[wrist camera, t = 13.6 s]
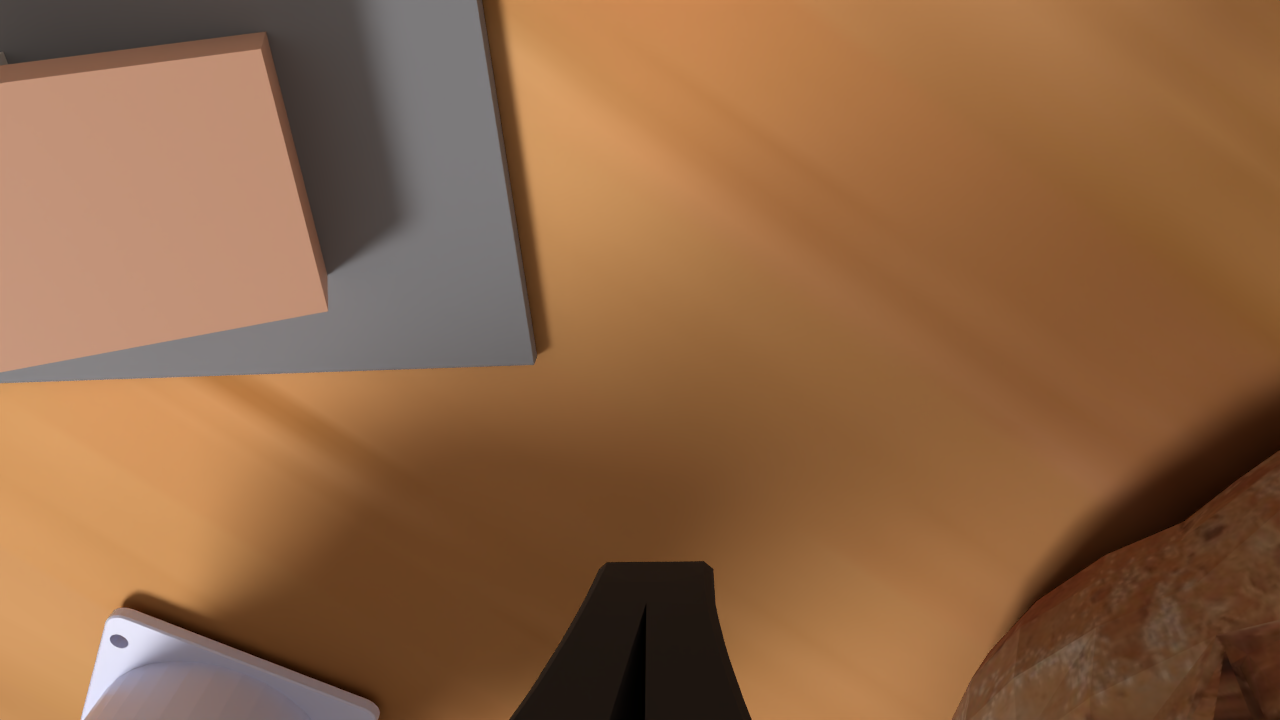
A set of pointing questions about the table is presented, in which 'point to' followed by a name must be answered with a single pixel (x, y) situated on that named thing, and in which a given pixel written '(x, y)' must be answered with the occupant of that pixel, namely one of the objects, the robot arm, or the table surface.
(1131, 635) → the bread
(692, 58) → the table surface
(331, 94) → the mat
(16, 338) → the domino
